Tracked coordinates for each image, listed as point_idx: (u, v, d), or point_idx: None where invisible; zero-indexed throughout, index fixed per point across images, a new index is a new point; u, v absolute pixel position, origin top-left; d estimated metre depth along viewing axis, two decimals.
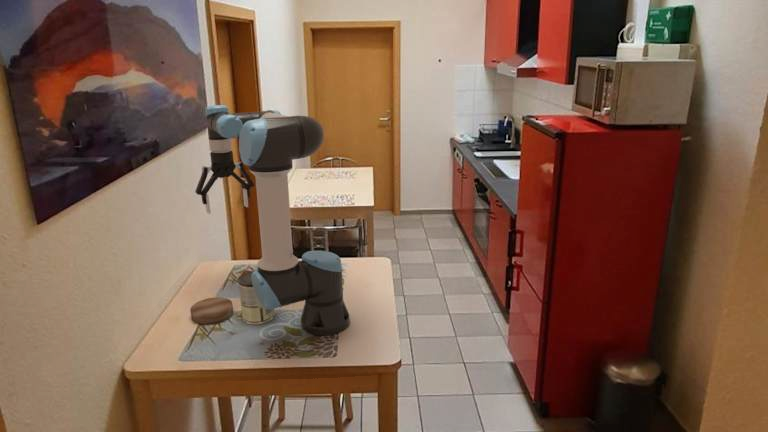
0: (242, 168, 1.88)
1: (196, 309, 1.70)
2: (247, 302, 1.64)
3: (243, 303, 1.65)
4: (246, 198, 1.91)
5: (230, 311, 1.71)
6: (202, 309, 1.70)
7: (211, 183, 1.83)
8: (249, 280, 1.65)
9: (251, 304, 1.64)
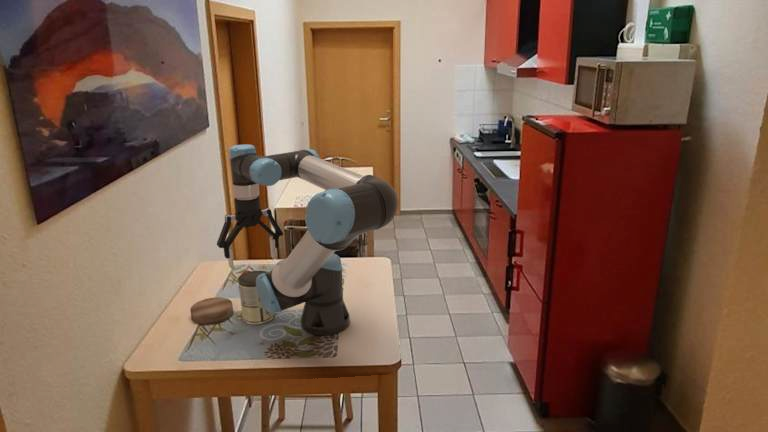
0: (270, 215, 1.63)
1: (196, 309, 1.70)
2: (247, 302, 1.64)
3: (243, 303, 1.65)
4: (274, 249, 1.67)
5: (230, 311, 1.71)
6: (202, 309, 1.70)
7: (235, 234, 1.59)
8: (249, 280, 1.65)
9: (251, 304, 1.64)
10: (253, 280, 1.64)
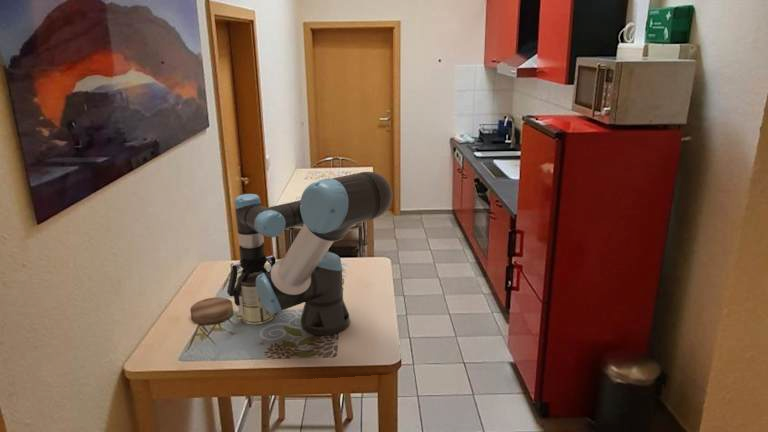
0: (273, 263, 1.68)
1: (196, 309, 1.70)
2: (247, 302, 1.64)
3: (243, 303, 1.65)
4: None
5: (230, 311, 1.71)
6: (202, 309, 1.70)
7: None
8: (249, 280, 1.65)
9: (251, 304, 1.64)
10: (253, 280, 1.64)
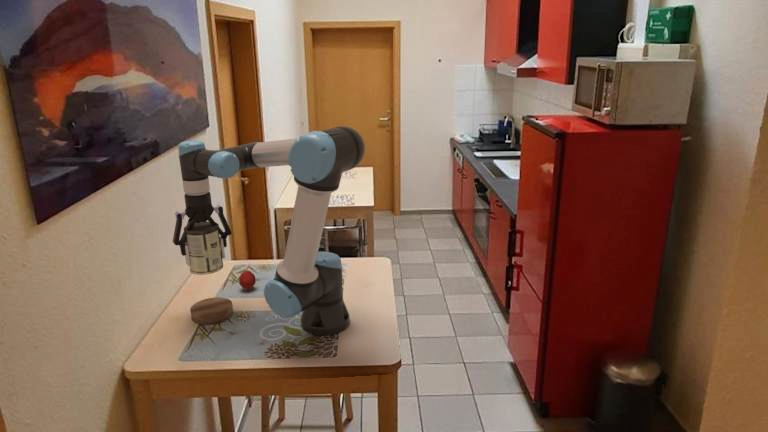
0: (221, 213, 1.65)
1: (196, 309, 1.70)
2: (193, 252, 1.61)
3: (189, 253, 1.62)
4: (222, 248, 1.68)
5: (230, 311, 1.71)
6: (202, 309, 1.70)
7: None
8: (194, 229, 1.62)
9: (196, 253, 1.61)
10: (199, 229, 1.61)
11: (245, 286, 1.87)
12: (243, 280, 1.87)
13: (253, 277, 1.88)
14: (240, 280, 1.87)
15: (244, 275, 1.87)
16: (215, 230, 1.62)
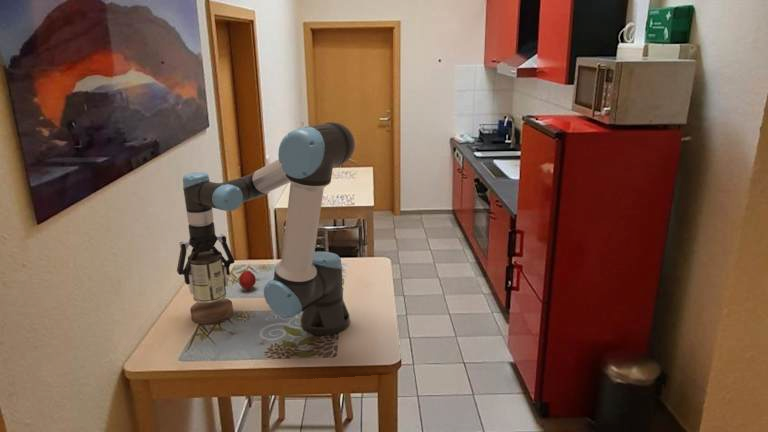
0: (224, 242, 1.68)
1: (196, 309, 1.70)
2: (197, 281, 1.64)
3: (193, 282, 1.65)
4: (225, 276, 1.71)
5: (230, 311, 1.71)
6: (202, 309, 1.70)
7: None
8: (198, 258, 1.65)
9: (200, 282, 1.64)
10: (203, 259, 1.64)
11: (245, 286, 1.87)
12: (243, 280, 1.87)
13: (253, 277, 1.88)
14: (240, 280, 1.87)
15: (244, 275, 1.87)
16: (218, 259, 1.65)
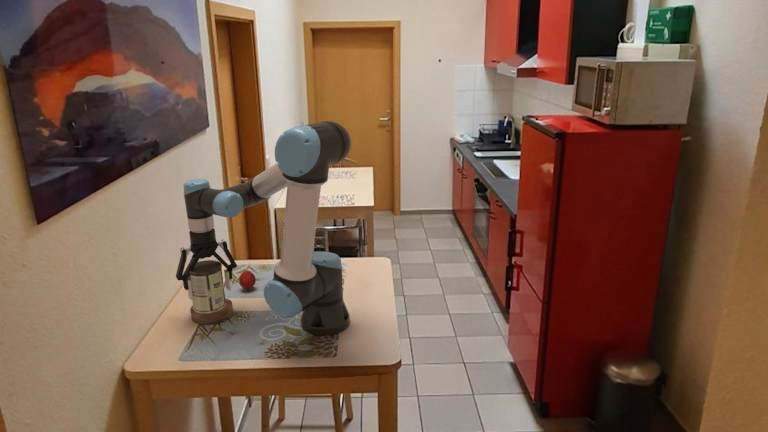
0: (225, 247, 1.68)
1: None
2: (196, 292, 1.65)
3: (192, 292, 1.66)
4: (228, 281, 1.71)
5: (230, 311, 1.71)
6: None
7: (192, 266, 1.64)
8: (198, 269, 1.65)
9: (199, 293, 1.64)
10: (202, 270, 1.65)
11: (245, 286, 1.87)
12: (243, 280, 1.87)
13: (253, 277, 1.88)
14: (240, 280, 1.87)
15: (244, 275, 1.87)
16: (218, 270, 1.66)
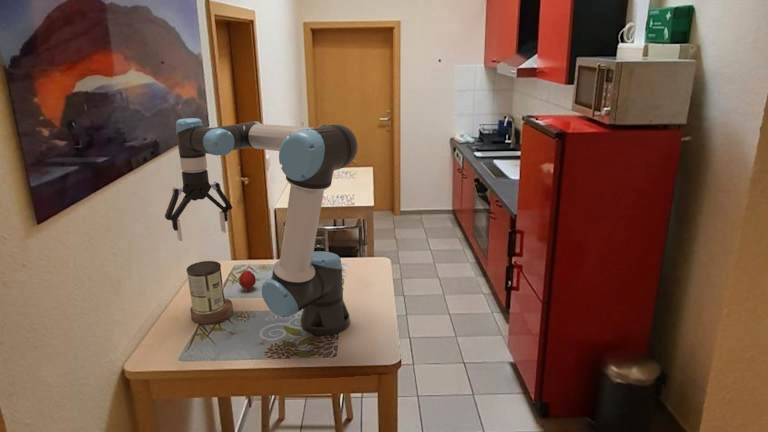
0: (218, 189, 1.66)
1: None
2: (195, 292, 1.65)
3: (191, 293, 1.66)
4: (223, 222, 1.70)
5: (230, 311, 1.71)
6: None
7: (183, 207, 1.61)
8: (197, 270, 1.65)
9: (198, 293, 1.64)
10: (201, 270, 1.65)
11: (245, 286, 1.87)
12: (243, 280, 1.87)
13: (253, 277, 1.88)
14: (240, 280, 1.87)
15: (244, 275, 1.87)
16: (217, 271, 1.66)
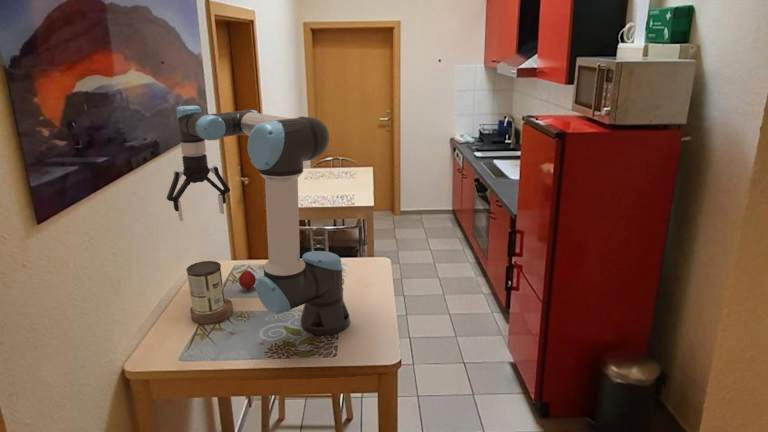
0: (217, 173, 1.77)
1: None
2: (195, 292, 1.65)
3: (191, 293, 1.66)
4: (222, 204, 1.80)
5: (230, 311, 1.71)
6: None
7: (183, 189, 1.72)
8: (197, 270, 1.65)
9: (198, 293, 1.64)
10: (201, 270, 1.65)
11: (245, 286, 1.87)
12: (243, 280, 1.87)
13: (253, 277, 1.88)
14: (240, 280, 1.87)
15: (244, 275, 1.87)
16: (217, 271, 1.66)
